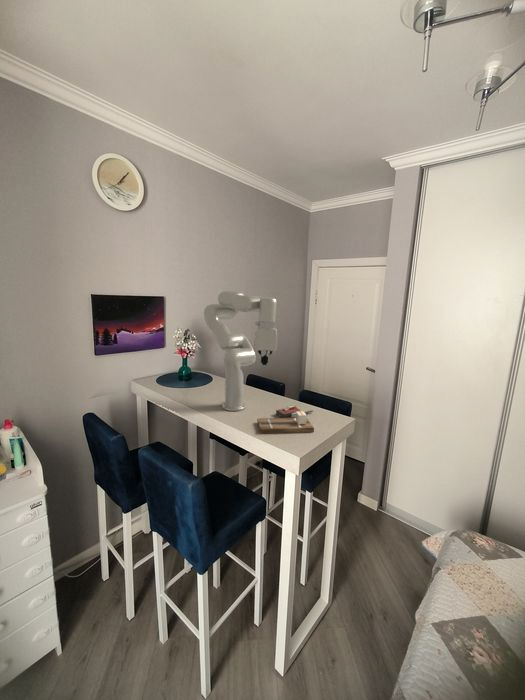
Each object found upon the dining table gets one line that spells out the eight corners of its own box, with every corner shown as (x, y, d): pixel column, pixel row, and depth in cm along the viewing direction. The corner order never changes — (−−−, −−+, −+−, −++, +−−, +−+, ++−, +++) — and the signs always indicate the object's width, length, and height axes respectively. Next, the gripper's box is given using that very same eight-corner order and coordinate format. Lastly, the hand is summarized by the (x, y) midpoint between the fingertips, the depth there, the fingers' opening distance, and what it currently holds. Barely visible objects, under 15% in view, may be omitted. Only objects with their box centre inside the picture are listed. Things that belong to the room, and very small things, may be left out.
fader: (295, 419, 145) (296, 411, 144) (303, 419, 145) (303, 411, 145) (298, 424, 140) (299, 415, 139) (306, 424, 140) (306, 415, 140)
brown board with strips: (257, 422, 146) (257, 418, 146) (306, 421, 150) (306, 417, 149) (260, 433, 134) (260, 429, 134) (313, 432, 138) (314, 427, 137)
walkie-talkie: (283, 421, 149) (314, 414, 160) (284, 413, 148) (314, 406, 160) (273, 415, 156) (302, 408, 167) (273, 407, 155) (303, 400, 167)
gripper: (251, 325, 134) (249, 366, 138) (284, 326, 136) (281, 366, 140) (249, 323, 141) (247, 362, 145) (281, 324, 144) (278, 362, 147)
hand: (264, 364), depth 142 cm, fingers closed
